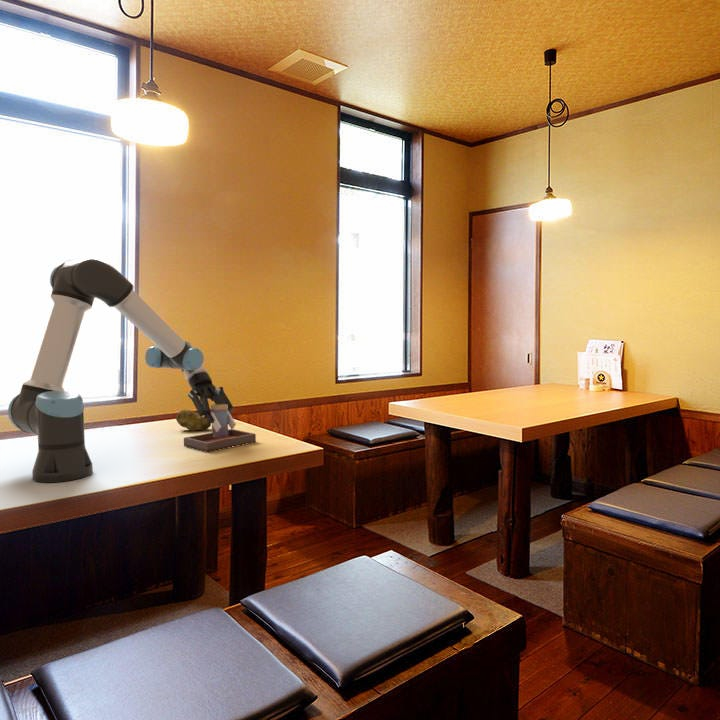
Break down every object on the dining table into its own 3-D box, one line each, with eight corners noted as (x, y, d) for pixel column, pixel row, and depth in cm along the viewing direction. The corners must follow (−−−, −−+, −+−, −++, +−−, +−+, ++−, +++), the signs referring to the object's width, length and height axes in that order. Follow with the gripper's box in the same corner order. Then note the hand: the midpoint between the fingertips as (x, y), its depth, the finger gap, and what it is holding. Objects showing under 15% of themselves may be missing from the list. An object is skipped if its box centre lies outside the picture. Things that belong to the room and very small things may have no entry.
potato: (202, 433, 219) (201, 412, 219) (172, 431, 223) (172, 411, 222) (213, 428, 227) (212, 409, 227) (185, 427, 231) (184, 407, 230)
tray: (207, 452, 187) (207, 443, 187) (184, 446, 197) (183, 437, 196) (255, 442, 202) (255, 433, 202) (231, 436, 212) (231, 428, 211)
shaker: (218, 438, 195) (217, 406, 194) (208, 436, 199) (207, 405, 198) (232, 435, 200) (231, 404, 199) (222, 433, 203) (221, 403, 203)
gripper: (215, 381, 215) (243, 430, 206) (171, 386, 201) (199, 439, 192) (223, 368, 211) (252, 417, 202) (178, 372, 197) (207, 425, 188)
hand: (226, 427), depth 197 cm, fingers closed on shaker, 5 cm apart
